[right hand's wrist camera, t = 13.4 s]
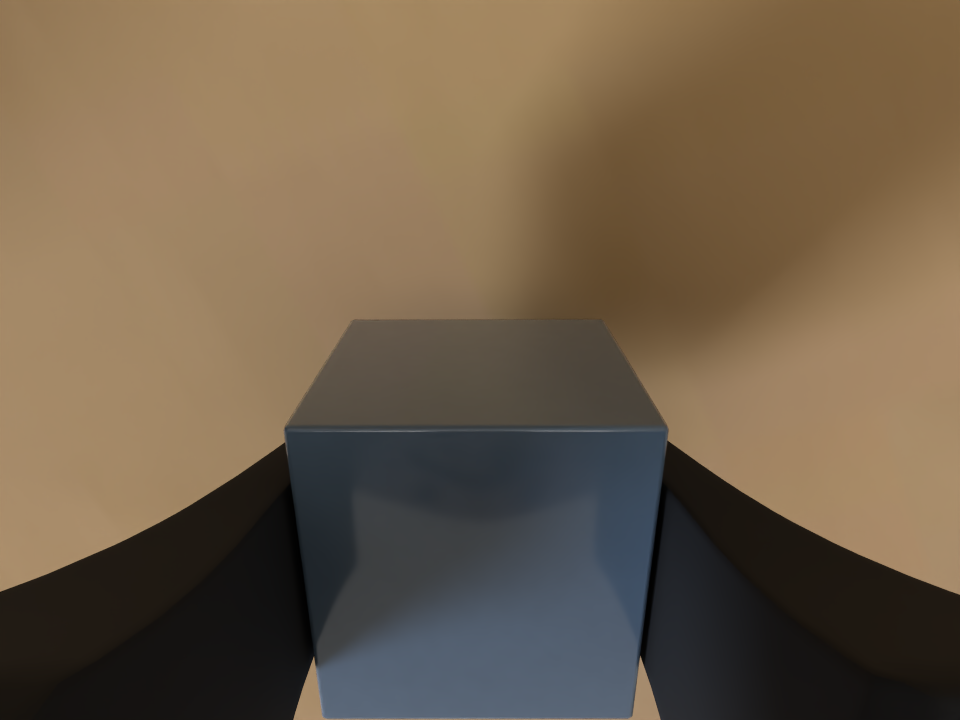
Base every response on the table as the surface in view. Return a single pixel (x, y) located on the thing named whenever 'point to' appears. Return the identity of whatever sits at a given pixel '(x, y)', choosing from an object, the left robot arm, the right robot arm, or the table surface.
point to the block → (476, 519)
